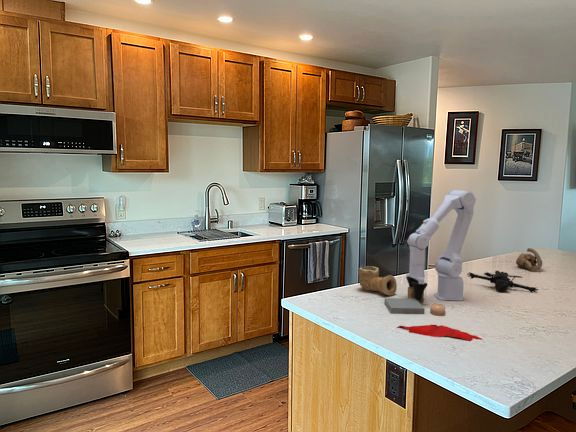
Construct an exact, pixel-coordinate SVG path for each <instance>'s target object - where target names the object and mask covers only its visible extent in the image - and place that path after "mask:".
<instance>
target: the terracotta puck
mask: <svg viewBox="0 0 576 432" xmlns="http://www.w3.org/2000/svg"><path fill="white" fill-rule="evenodd" d="M429 309H430V310H429V311H430V312H429V314H431V315H433V316H437V317H438V316H439V317H442V316H445V315H446V305H444V304H441V303H430V308H429Z"/></svg>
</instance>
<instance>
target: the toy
mask: <svg viewBox="0 0 576 432" xmlns="http://www.w3.org/2000/svg"><path fill="white" fill-rule="evenodd" d="M466 275H467V277H469V279H472V280H473V279H480V280H481V279H482V280H485V281H488V282H490V283H491V284H494V288H495V291H496V292H499V293H504V292H506V291H507V290H508V288H512V287H513V288H519V289H524V290H527V291H529V292H530V293H538V291H539V290H540V289H538V288H536V287H534V286H526V285H523V284H520V283H514V280H515V278H523V276H520V275H509V273H507V272H504V271H499V270H495V271H494V274H493V273H491V272H488V271H487V272H484V273H483V275H479V274H475V273H473V272H467V273H466ZM510 278H512V279H510Z"/></svg>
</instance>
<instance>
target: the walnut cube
mask: <svg viewBox="0 0 576 432" xmlns="http://www.w3.org/2000/svg"><path fill="white" fill-rule="evenodd" d="M424 298H425V291H424V292H423V296H422V299H421V300H417V301H418V302H419V303H420V304H423V303H424ZM407 299H415V294H414V287H409V286H407Z"/></svg>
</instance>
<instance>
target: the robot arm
mask: <svg viewBox="0 0 576 432" xmlns="http://www.w3.org/2000/svg"><path fill="white" fill-rule="evenodd" d="M476 201H477V199H476V196H475V195H474V193H473V192H472V191H470V190H459V189H458V190H457V189H450V190H449V191H448V192H447V194H446V195H445V196H444V200H443V202H442V203H441V204H440V206H439V207H438V208H437V210H436V211H435V213H433V215H432V217H430V218H426V219H424V220H423V221H422V222H423V223H421V225H420V226H419V227H418V228H417V229H416V230H415V232H413V233H411V234H410V235H409V237H408V239H407V240H406V241H407V244H408V247H409V265H408V266H409V267H408V268H409V270H408V271H409V272H408V273H406V274H405V275H406V277H405V279H406V281H407V283H408V284H407V285H408V287H414V294H415V299H416V300H421V299H422V296H423V292H424V293H425V291H426V288H427V286H428V283H427V282H425V267H426V265H425V264H426V248H427V247H428V246H429V245H430V240H431V238H432V237H433V236H434V234H435V233H436V232H437V230H438V229H439V228H440V225H439V224H440V223H441V222H442V221H443V219H444V218H445V217H447V215H448V214H449V213H450V212H451V211H453V210H454V211H455V212H456V213H457V216H456V218H455V222H454V226H453V228H452V231H451V233H450V237H449V240H448V243H447V246H446V248H445V249H446V250H445V251H443V252H442V253H440V254H439V257H438V258H437V260H436V261H435V263H434V269H435V271H436V273H437V274H436V275H438V276H437V290H436V291H437V292H434V293H433V294H434V296H435V297H436V298H438V300H440V301H464V288H465V287H464V286H465V285H464V279H463V277H462V276H460V275H461V273H462V272H463V271H462V270H463V268H462V267H463V259H462V257H461V256H460V255H461V252H462V249H463V245H464V243H465V240H466V237H467V235H468V231H469V229H470V227H471V226H470V225H471V223H472V219H473V216H474V207H475V204H476Z"/></svg>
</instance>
